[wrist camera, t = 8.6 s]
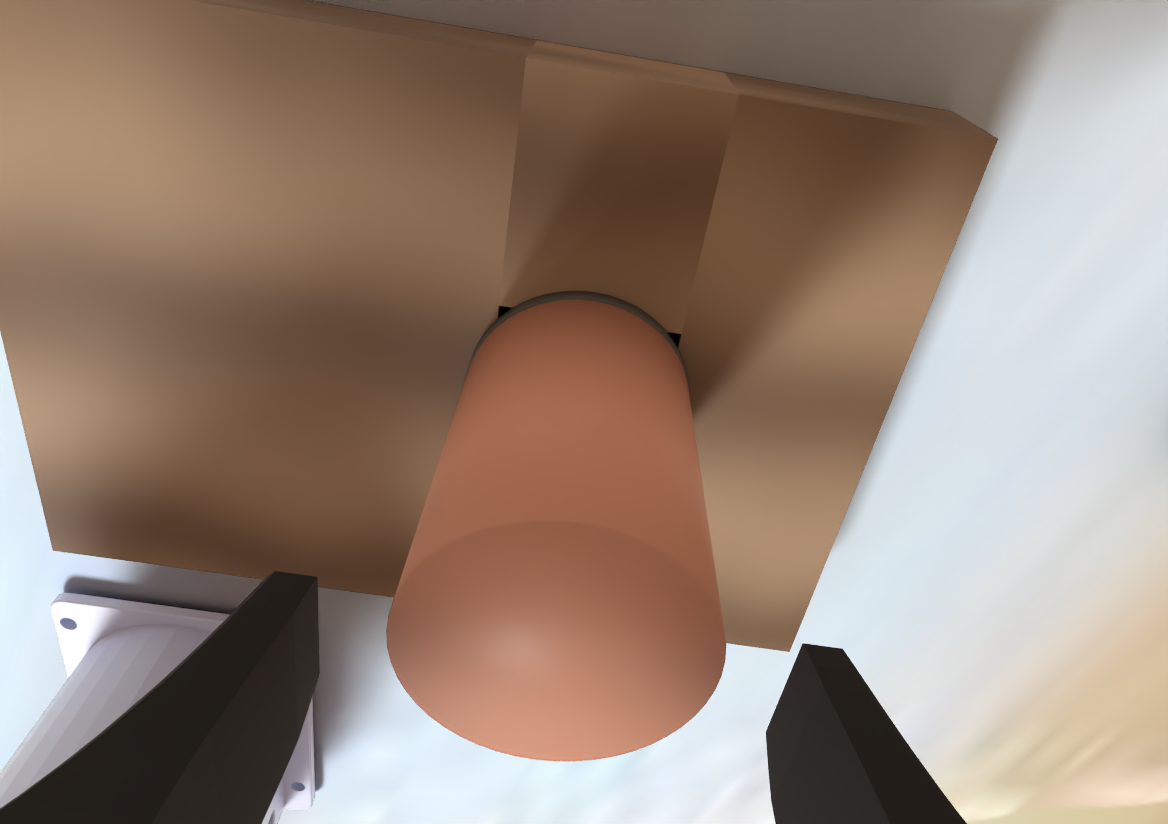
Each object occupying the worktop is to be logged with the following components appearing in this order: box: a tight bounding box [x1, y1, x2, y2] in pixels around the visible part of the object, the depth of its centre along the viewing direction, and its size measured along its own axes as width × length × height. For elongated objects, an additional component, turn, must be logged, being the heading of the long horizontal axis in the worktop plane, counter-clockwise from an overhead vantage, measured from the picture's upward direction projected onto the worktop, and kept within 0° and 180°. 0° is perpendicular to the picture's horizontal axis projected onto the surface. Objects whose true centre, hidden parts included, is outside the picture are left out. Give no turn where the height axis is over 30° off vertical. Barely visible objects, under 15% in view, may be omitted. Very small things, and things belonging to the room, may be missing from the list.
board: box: [0, 0, 998, 652], centre depth 20 cm, size 14×20×2 cm
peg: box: [386, 291, 726, 761], centre depth 16 cm, size 5×5×10 cm
